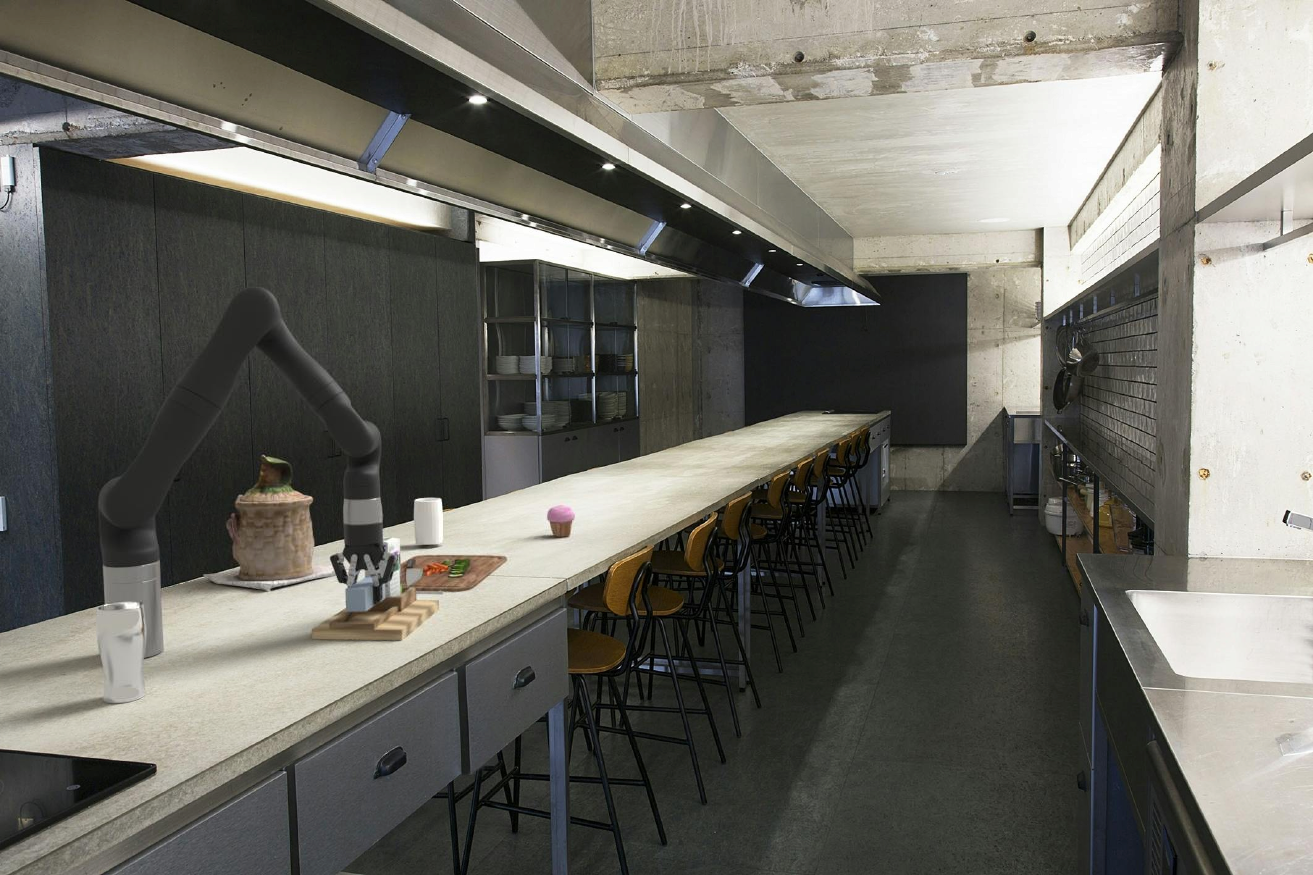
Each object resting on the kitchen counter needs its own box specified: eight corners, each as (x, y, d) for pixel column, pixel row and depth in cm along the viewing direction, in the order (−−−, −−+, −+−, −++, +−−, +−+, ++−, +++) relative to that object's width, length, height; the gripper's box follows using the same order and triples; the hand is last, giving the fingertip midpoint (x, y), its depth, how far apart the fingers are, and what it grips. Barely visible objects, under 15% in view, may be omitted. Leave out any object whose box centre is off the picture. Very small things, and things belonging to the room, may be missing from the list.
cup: (449, 545, 286) (448, 498, 285) (429, 549, 279) (427, 502, 278) (429, 542, 290) (428, 496, 289) (408, 547, 283) (407, 500, 282)
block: (366, 598, 198) (366, 576, 198) (385, 598, 198) (384, 577, 197) (346, 611, 187) (345, 589, 187) (365, 611, 187) (365, 589, 186)
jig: (401, 640, 184) (401, 614, 184) (312, 639, 185) (311, 613, 185) (439, 609, 208) (438, 586, 208) (359, 608, 209) (358, 586, 209)
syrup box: (390, 609, 200) (389, 541, 199) (365, 608, 201) (362, 540, 200) (402, 602, 206) (401, 536, 205) (377, 601, 207) (375, 536, 206)
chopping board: (465, 596, 222) (465, 583, 222) (355, 595, 225) (355, 582, 224) (511, 558, 267) (511, 548, 267) (419, 557, 269) (419, 547, 269)
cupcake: (579, 537, 298) (579, 505, 297) (554, 539, 294) (553, 507, 293) (567, 533, 306) (567, 502, 305) (542, 535, 301) (542, 504, 301)
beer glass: (157, 689, 156) (153, 600, 155) (135, 704, 149) (131, 610, 148) (114, 690, 156) (110, 600, 155) (90, 705, 149) (86, 611, 148)
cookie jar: (346, 573, 246) (342, 451, 244) (266, 593, 225) (261, 459, 223) (281, 565, 258) (277, 448, 256) (199, 583, 237) (194, 456, 235)
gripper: (320, 523, 188) (324, 608, 189) (390, 522, 187) (393, 608, 188) (336, 517, 195) (339, 599, 196) (403, 517, 194) (406, 599, 195)
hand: (365, 603), depth 192 cm, fingers closed on block, 4 cm apart
